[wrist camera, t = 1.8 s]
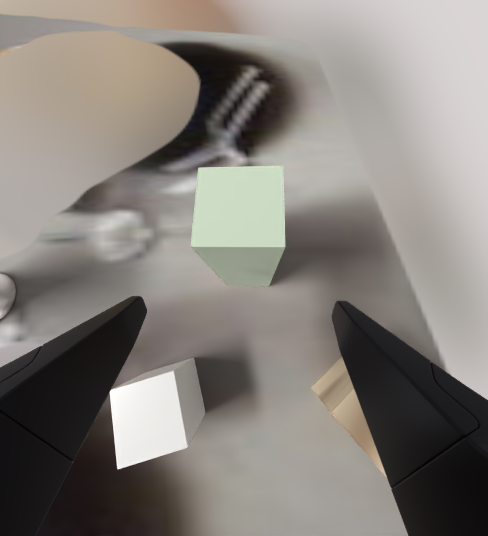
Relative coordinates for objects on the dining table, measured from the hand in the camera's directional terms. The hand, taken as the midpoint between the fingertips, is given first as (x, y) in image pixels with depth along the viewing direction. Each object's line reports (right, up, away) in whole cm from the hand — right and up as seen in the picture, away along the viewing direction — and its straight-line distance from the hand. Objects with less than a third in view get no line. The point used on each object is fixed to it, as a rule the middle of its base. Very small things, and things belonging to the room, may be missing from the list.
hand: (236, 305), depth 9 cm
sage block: (+1, +2, +12) cm, 13 cm away
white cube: (-6, -10, +10) cm, 16 cm away
